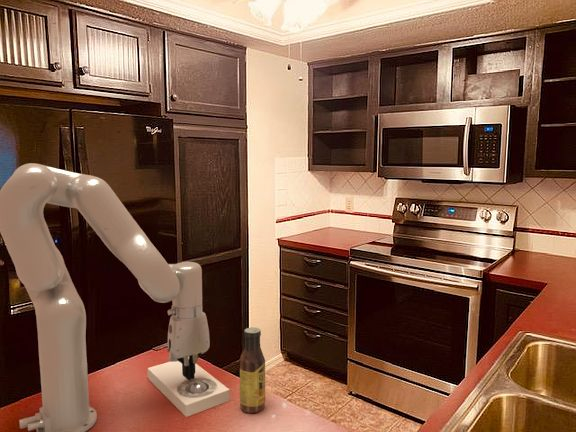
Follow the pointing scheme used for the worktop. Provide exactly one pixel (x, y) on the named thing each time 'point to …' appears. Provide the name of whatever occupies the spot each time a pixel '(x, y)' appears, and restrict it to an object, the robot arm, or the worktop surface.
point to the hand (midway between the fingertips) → (189, 377)
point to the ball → (197, 388)
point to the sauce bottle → (252, 373)
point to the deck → (187, 387)
